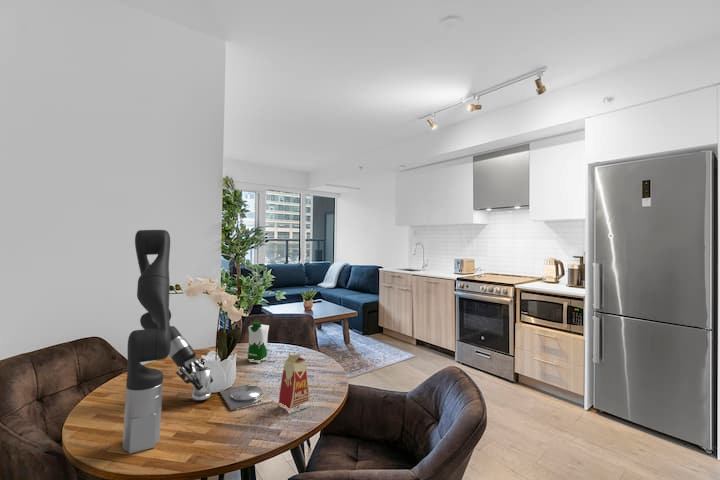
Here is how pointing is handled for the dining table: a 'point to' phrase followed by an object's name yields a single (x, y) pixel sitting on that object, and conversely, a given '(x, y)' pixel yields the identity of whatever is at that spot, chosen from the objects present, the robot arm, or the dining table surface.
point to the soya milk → (257, 341)
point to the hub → (204, 378)
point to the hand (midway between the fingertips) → (206, 385)
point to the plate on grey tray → (241, 396)
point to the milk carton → (294, 382)
